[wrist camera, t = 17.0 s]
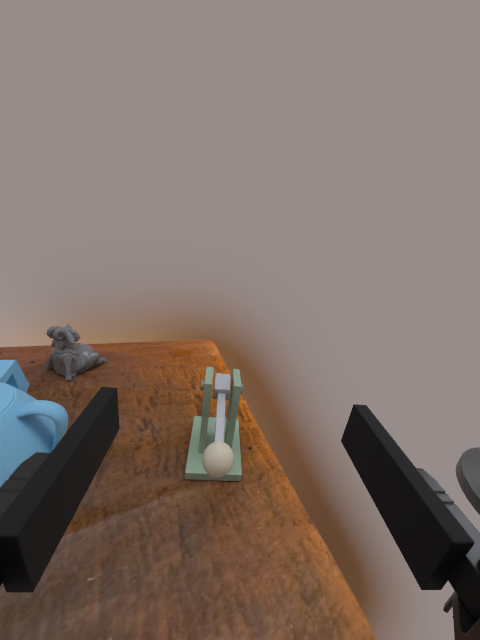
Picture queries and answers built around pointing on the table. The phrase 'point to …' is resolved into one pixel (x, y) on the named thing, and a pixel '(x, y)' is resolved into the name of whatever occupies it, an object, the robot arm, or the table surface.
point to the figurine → (70, 353)
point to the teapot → (25, 421)
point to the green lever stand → (206, 432)
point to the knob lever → (219, 433)
